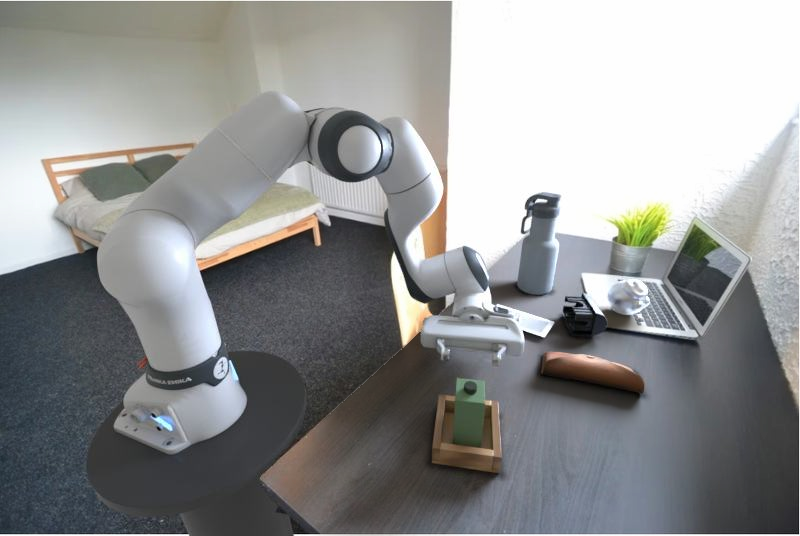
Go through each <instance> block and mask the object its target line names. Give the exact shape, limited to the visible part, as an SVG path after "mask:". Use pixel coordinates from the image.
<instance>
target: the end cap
mask: <svg viewBox="0 0 800 536" xmlns="http://www.w3.org/2000/svg"><path fill="white" fill-rule="evenodd" d="M564 302H565V303H568V304H574V305H563V307H562V319H563V321H564V323H565V325H566V326H567V328H568V330H569V332H570V335H571V336H573V337H584V338H585V337H586V338H591V337H594V336H598V335H600V334H602V333H604V331H606V329H607V327H608V323H609V322H608V319H607V317H606V316H605V314H604V313H603V311H602V309H600V307H599V305H598V304H597V302H596V301H595V300H594V298H593V297H592V296H591V295H590V294H588V293H586V292H581V296H580V295H579V296H577V295H565V297H564Z"/></svg>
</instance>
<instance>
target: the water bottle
mask: <svg viewBox="0 0 800 536" xmlns="http://www.w3.org/2000/svg"><path fill="white" fill-rule="evenodd" d="M537 200H544V201H537ZM561 200H562V195H561V194H558V193H553V192H548V191H547V192H546V191H544V192H538V193H536V194H533V195H530V196H529V197H528V198H527V199H526V201H525V203H524V210H525V211H526V213H525V214H526V215H525V216H523V217H522V219H521V226H520V234H521V235H526V234H528V233H529V234H528V235H527V236H525V237H524V238H523V240H522V242H521V251H520V258H519V266H518V272H517V273H518V274H517V281H516V284H517V287H518V289H520V290H521V291H522V292H524V293H526V294H530V295H533V296H534V295H535V296H541V295H542V296H543V295H547V294H549V293H550V292H551V291H552V289H553V285H554V279H555V274H556V268H557V262H558V257H559V250H560V242H559V241H558V238H557V239H556V238H555V235H556V230H557V224H558V219H559V218H560V212H561V206H560V205H559V204H560V201H561ZM530 218H531V221H530V227H529V229H526V230H525V225H526V221H527V219H530Z"/></svg>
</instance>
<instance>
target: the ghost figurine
mask: <svg viewBox="0 0 800 536" xmlns="http://www.w3.org/2000/svg"><path fill="white" fill-rule="evenodd" d="M648 295H649V289H648V287H647V285H645V283H644V282H642V281H641V280H638V279H635V278H634V279H633V278H631V279H627V280H626V279H625V280H619V281H616V282H615V283H613V284H612V285H611V286H610V287H609V288H608V290H607V293H606V301H607V304H608V306H609V307H610V308H611V310H612V311H614V312H615V313H617V314H619V315H623V316H632V315H636V314H638V313H639V312H641V311H642V310H643V309H644V308H647V307H649V306H650V304H651V300H650V298H649V297H648Z"/></svg>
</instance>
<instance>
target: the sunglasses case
mask: <svg viewBox="0 0 800 536" xmlns="http://www.w3.org/2000/svg"><path fill="white" fill-rule="evenodd" d="M541 359H542V360H541V371H540V374H541V375H544V376H548V377H553V378H562V379H568V380H577V381H581V382H586V383H589V384H590V383H591V384H596V385H603V386H605V387H609V388H615V389H620V390H625V391H630V392H634V393H638V394H640V395H643V393H644V391H645V381H644V379H643V377H642V376H641V375H640V374H638V373H636V372H635V371H634V370H633V369H632V368H631V367H629V366H627V365H624V364H621V363H617V362H614V361H610V360H607V359H604V358H601V357H600V356H599V357H598V356H595V355H590V354H584V353H577V354H575V353H568V352H561V351H544V353H543V354H542V358H541Z"/></svg>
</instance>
